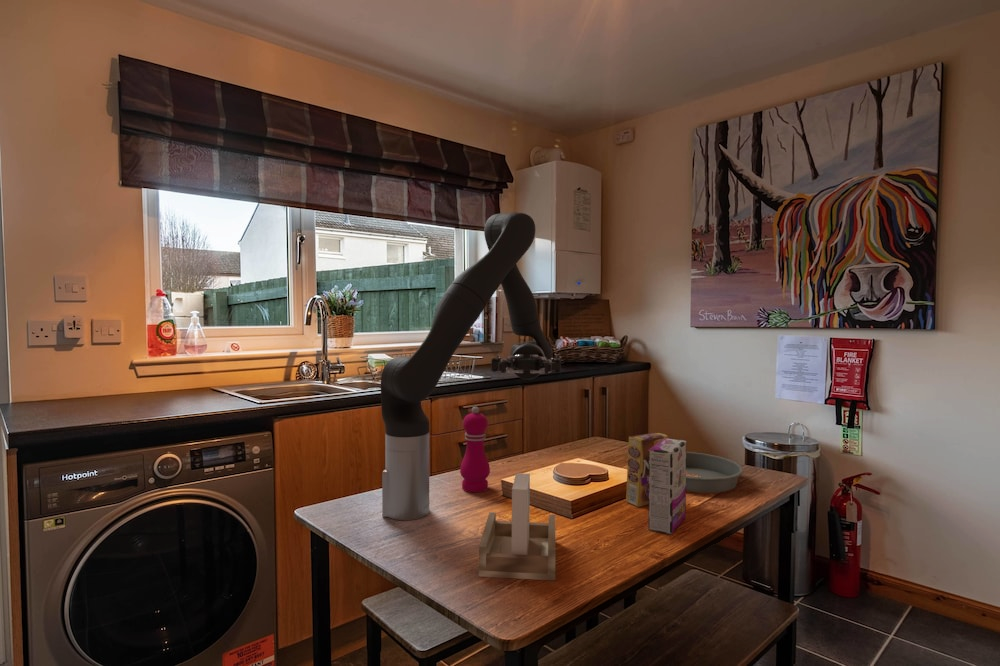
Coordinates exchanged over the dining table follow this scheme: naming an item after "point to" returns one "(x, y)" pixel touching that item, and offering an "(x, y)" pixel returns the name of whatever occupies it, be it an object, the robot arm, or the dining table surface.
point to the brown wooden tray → (517, 564)
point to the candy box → (640, 467)
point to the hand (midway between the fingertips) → (524, 367)
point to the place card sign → (521, 521)
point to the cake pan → (711, 473)
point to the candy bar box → (667, 485)
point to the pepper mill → (475, 453)
